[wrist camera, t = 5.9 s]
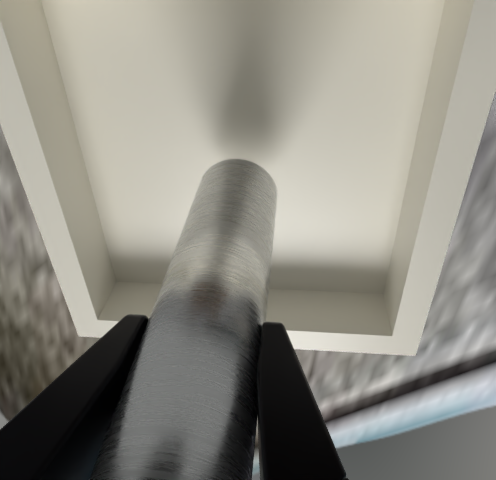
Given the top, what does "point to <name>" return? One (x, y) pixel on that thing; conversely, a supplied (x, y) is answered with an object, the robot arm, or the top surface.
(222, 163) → the lock pin
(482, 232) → the top surface
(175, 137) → the tray
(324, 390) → the top surface
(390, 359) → the top surface
